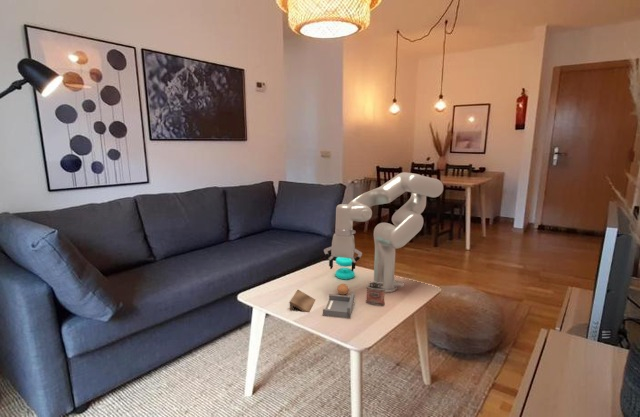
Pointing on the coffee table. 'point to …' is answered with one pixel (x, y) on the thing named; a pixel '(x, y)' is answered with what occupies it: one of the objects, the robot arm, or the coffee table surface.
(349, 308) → the box
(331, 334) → the coffee table surface
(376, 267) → the robot arm
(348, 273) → the donuts
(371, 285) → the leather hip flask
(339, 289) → the ball
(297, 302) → the ramp
